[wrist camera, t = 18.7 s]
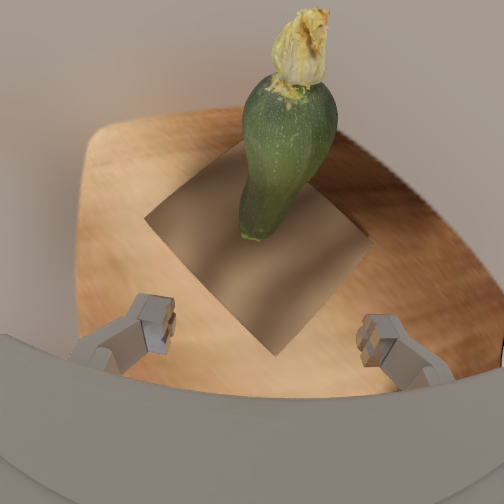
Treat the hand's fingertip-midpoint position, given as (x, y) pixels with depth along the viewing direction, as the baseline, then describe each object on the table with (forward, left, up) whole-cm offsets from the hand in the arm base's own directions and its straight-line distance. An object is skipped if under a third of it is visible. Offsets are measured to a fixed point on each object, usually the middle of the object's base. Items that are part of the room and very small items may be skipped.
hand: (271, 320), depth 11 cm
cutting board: (+5, -6, -13) cm, 15 cm away
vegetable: (+5, -6, -12) cm, 14 cm away
